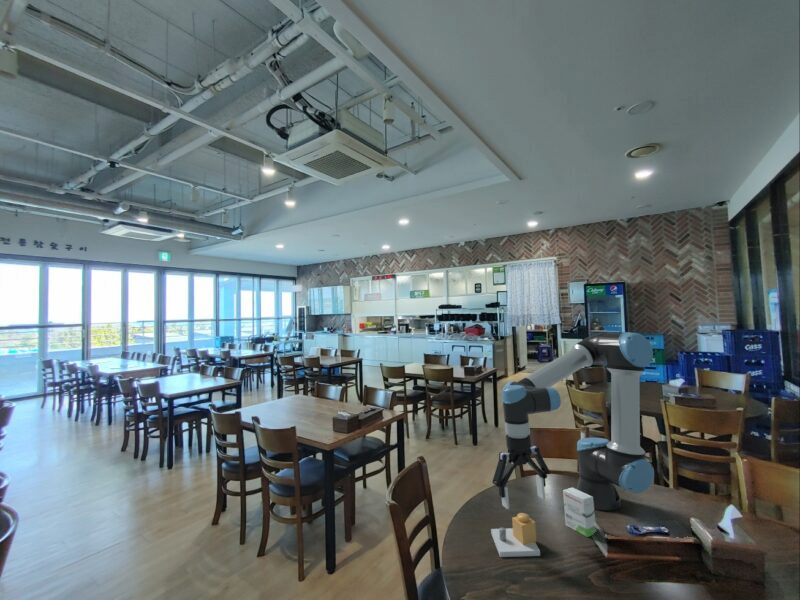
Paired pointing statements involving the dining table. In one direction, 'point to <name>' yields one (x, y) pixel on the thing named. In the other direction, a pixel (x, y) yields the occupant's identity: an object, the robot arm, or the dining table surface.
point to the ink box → (579, 511)
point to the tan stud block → (524, 528)
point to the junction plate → (512, 544)
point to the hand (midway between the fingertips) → (523, 502)
